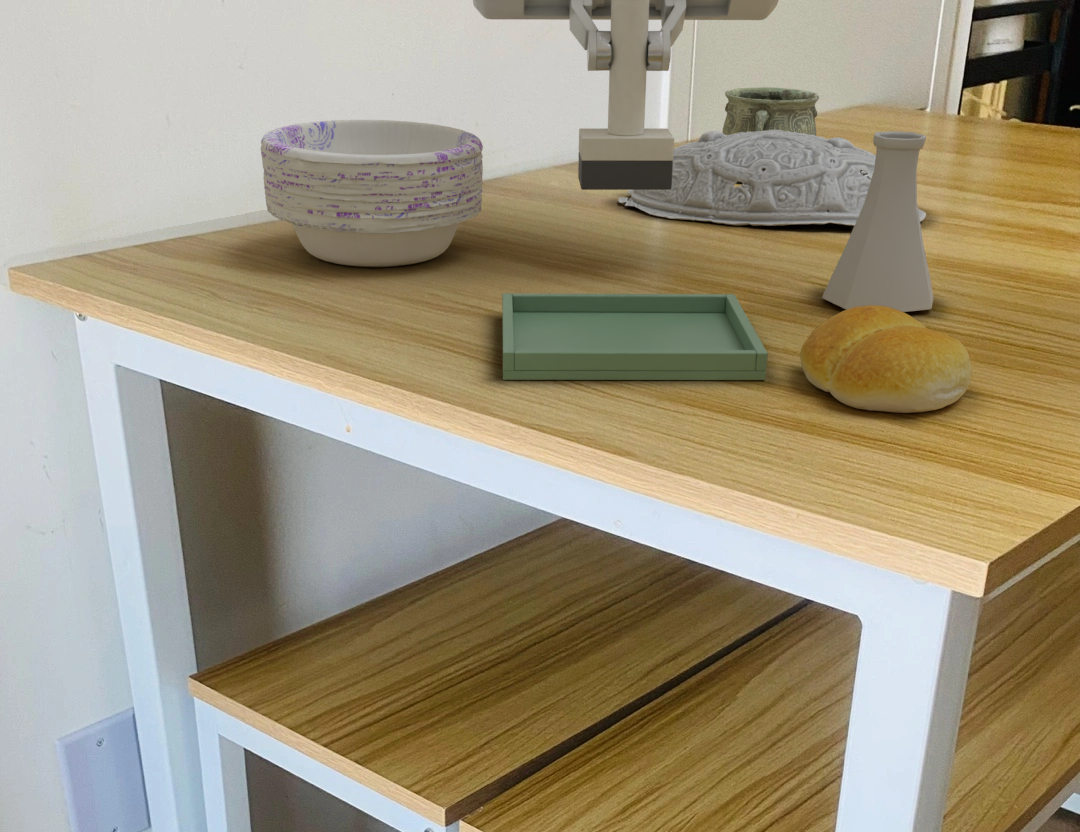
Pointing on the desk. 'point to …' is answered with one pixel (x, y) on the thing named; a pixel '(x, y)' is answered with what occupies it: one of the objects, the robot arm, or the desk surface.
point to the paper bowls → (372, 188)
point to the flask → (886, 235)
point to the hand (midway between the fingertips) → (629, 64)
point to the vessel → (770, 110)
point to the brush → (626, 116)
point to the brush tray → (629, 337)
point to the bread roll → (885, 361)
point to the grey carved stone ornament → (763, 180)
